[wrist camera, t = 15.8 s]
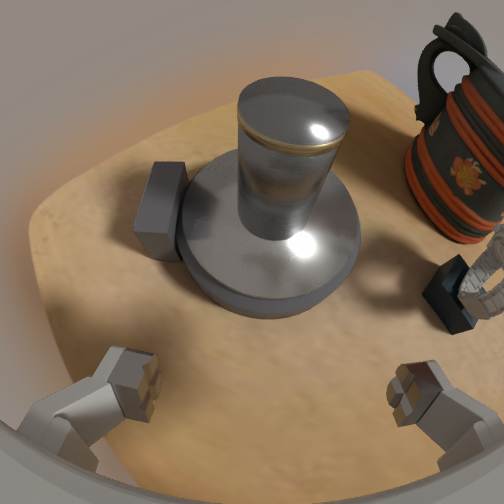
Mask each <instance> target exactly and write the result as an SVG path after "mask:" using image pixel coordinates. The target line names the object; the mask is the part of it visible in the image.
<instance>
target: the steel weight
mask: <svg viewBox="0 0 504 504" xmlns="http://www.w3.org/2000/svg"><path fill="white" fill-rule="evenodd" d="M237 119H238V192H237V210H238V216H239V219H240V221H241V223H242V224H243V226H244V227H245V228H246V229H247V230H248V231H249V232H250V233H252V234H253V235H255V236H257V237H259V238H261V239H265V240H269V241H282V240H287V239H290V238H292V237H294V236H296V235H297V234H299V233H300V232H301V231H302V230H303V228H304V227H305V225H306V223H307V221H308V219H309V216H310V214H311V212H312V210H313V207H314V205H315V203H316V201H317V198H318V196H319V194H320V192H321V189H322V187H323V185H324V182H325V180H326V178H327V175H328V173H329V171H330V168H331V166H332V164H333V161H334V159H335V156H336V154H337V152H338V149H339V147H340V144H341V143H342V142H343V140H344V137H345V135H346V133H347V130H348V126H349V121H350V116H349V112H348V109H347V107H346V106H345V104H344V103H343V102H342V100H341V99H340V98H339V97H338V96H336V95H335V94H334V93H333V92H331V91H330V90H328V89H326V88H324V87H323V86H320V85H318V84H316V83H313V82H311V81H307V80H304V79H299V78H293V77H270V78H265V79H261V80H257V81H255V82H253V83H251V84H249V85H248V86H247V87H245V88H244V90H243V91H242V92H241V94H240V97H239V101H238V106H237Z"/></svg>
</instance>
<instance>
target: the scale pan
mask: <svg viewBox="0 0 504 504" xmlns="http://www.w3.org/2000/svg"><path fill="white" fill-rule="evenodd" d="M237 192H238V149H235V150H232V151H229V152H227V153H225V154H223V155H221V156H219V157H217V158H216V159H214V160H213V161H211V162H210V163H208V164H207V165H206V166H205V167H204V168H203V169H202V170H201V171H200V172H199V173H198V174H197V175H196V177H195V178H194V180H193V181H192V183H191V184H190V186H189V188H188V191H187V193H186V196H185V199H184V203H183V210H182V224H183V230H184V234H185V237H186V240H187V243H188V246H189V248H190V250H191V252H192V254H193V256H194V258H195V259H196V261H197V262H198V264H199V265H200V266H201V268H202V269H203V270H204V271H205V272H206V273H207V274H208V275H209V276H210V277H211V278H213V279H214V280H215V281H216V282H218V283H219V284H221V285H222V286H224V287H226V288H227V289H229V290H231V291H233V292H236V293H238V294H241V295H243V296H247V297H251V298H254V299H261V300H287V299H294V298H297V297H301V296H304V295H307V294H309V293H311V292H314V291H316V290H318V289H319V288H321V287H322V286H324V285H326V284H327V283H328V282H329V281H330V280H331V279H333V278H334V277H335V276H336V275H337V274H338V273H339V272H340V270H341V269H342V268H343V267H344V266H345V264H346V263H347V261H348V259H349V258H350V256H351V254H352V251H353V249H354V246H355V242H356V238H357V228H358V226H357V215H356V210H355V206H354V204H353V201H352V198H351V196H350V194H349V192H348V190H347V189H346V187H345V186H344V184H343V183H342V181H341V180H340V179H339V178H338V177H337V176H336V174H335V173H333V172H332V171H331V170H330V171H329V173H328V175H327V178H326V180H325V182H324V185H323V187H322V189H321V192H320V194H319V196H318V198H317V201H316V203H315V205H314V207H313V210H312V212H311V214H310V216H309V219H308V221H307V223H306V225H305V227H304V228H303V230H302V231H301V232H300V233H299V234H297V235H296V236H294V237H292V238H290V239H287V240H282V241H269V240H265V239H261V238H259V237H257V236H255V235H253V234H252V233H250V232H249V231H248V230H247V229H246V228H245V227H244V226H243V224H242V223H241V221H240V219H239V216H238V210H237Z"/></svg>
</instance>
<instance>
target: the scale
mask: <svg viewBox="0 0 504 504" xmlns="http://www.w3.org/2000/svg"><path fill="white" fill-rule="evenodd" d="M200 171H201V170H200ZM200 171H199V172H200ZM199 172H198V173H199ZM198 173H197V174H198ZM197 174H196V175H197ZM196 175H195V176H194V177H193V179H192V180H191V181H190V182H189V180H188V176H187V171H186V167H185V162H154V165H153V167H152V169H151V171H150V174H149V177H148V180H147V183H146V186H145V189H144V193H143V196H142V199H141V202H140V206H139V209H138V212H137V216H136V219H135V223H134V227H133V228H134V229H133V232H134V233H135V235H136V236H137V238H138V239H139V240H140V242H141V243H142V245H143V246H144V247H145V249H146V250H147V252H148V253H149V254H150V256H151V257H152V258H153V259H154V260H165V261H176V262H181V260H182V257H183V259H184V261H185V264H186V266H187V268H188V270H189V272H190V274H191V275H192V277H193V279H194V281H195V282H196V283H197V285H198V286H199V288H200V289H201V290H202V291H203V292H204V293H205V294H206V295H207V296H208V297H209V298H211V299H212V300H213V301H214V302H216V303H217V304H219V305H220V306H222V307H224V308H225V309H227V310H229V311H232V312H234V313H236V314H239V315H242V316H246V317H250V318H256V319H281V318H287V317H291V316H294V315H298V314H300V313H303V312H305V311H307V310H309V309H311V308H312V307H314V306H316V305H317V304H319V303H320V302H321V301H322V300H324V299H325V298H326V297H327V296H328V295H330V294H331V293H332V292H333V291H334V290H335V289H337V288H338V287H339V286H340V285H341V284H342V282H343V281H344V280H345V279H346V278H347V276H348V275H349V273H350V271H351V270H352V268H353V266H354V264H355V261H356V259H357V256H358V252H359V248H360V239H361V231H360V222H359V217H358V213H357V210H356V207H355V210H356V215H357V226H358V228H357V238H356V242H355V246H354V249H353V251H352V254H351V256H350V258H349V259H348V261H347V263H346V264H345V266H344V267H343V268H342V269H341V270H340V272H339V273H338V274H337V275H336V276H335V277H334V278H333V279H331V280H330V281H329V282H328V283H327V284H326V285H324V286H322V287H321V288H319V289H318V290H316V291H314V292H311V293H309V294H307V295H304V296H301V297H297V298H294V299H287V300H261V299H254V298H251V297H247V296H243V295H241V294H238V293H236V292H233V291H231V290H229V289H227V288H226V287H224V286H222V285H221V284H219V283H218V282H216V281H215V280H214V279H213V278H211V277H210V276H209V275H208V274H207V273H206V272H205V271H204V270H203V269H202V268H201V266H200V265H199V264H198V262H197V261H196V259H195V258H194V256H193V254H192V252H191V250H190V248H189V246H188V243H187V240H186V237H185V234H184V230H183V224H182V210H183V203H184V199H185V196H186V193H187V191H188V188H189V186H190V184H191V183H192V181H193V180H194V178H195V177H196ZM353 204H354V203H353ZM354 206H355V205H354Z"/></svg>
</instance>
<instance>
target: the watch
mask: <svg viewBox="0 0 504 504" xmlns="http://www.w3.org/2000/svg"><path fill="white" fill-rule="evenodd" d="M493 230H494V231H495V234H494V235H493V237H492V239H491V240H490V242H489V243H488V244H487V247H488V248H487V249H486V250H485V252H483V253H482V254H481V255H480V256H479V258H478V259H477V260H476V261H475V262H474V263H473V265H472V266H471V267H470V268H469V266H468V265H467V264H466V262H465V261H464V260H463V258H462V257H461V256H460V254H458V255H457V256H455V257H454V258H452V259H451V260H449V261H448V262H446V263H444V264H443V265H441V266H440V268H439V269H438V271H437V272H436V274H435V275H434V277H433V278H432V280H431V281H430V283H429V284H428V286H427V287H426V289H425V290H424V291H423V293H422V296H423V297H424V298H425V299H426V301H427V302H428V303H429V304H430V306H431V307H432V308H433V310H434V311H435V312H436V314H437V315H438V316H439V318H440V319H441V320H442V322H443V323H444V324H445V326H446V327H447V329H448V330H449V331H450V333H451V334H452V335H454V334H457V333H461V332H464V331H468V330H471V329H474V327H475V325H476V323H477V321H478V319H484V320H487V319H491V317H494V316H496V315H499V314H501V313H503V311H504V297H503V296H504V278H503V280H502V281H501V284H500V283H499V284H498V285H497V286H495V287H494V288H493V289H492V291H491V290H490V291H488V292H487V293H486V291H485V290H484V288H483V287H482V286H483V285H484V283H485V282H486V281H487V280H488V279H489V278H490V276H492V275H493V274H494V273H495V272H496V271H497V270H498V269H500V268H501V267H502V266H503V267H502V270H504V224H501V225H500V224H499V223H497V224H496V225H495V226H494V227H493ZM486 254H487V255H486ZM485 258H486V259H485ZM479 260H480V261H479ZM487 261H488V262H489V263H488V262H487ZM489 264H490V265H491V266H490V265H489ZM480 267H481V268H480ZM491 267H492V268H491ZM496 269H497V270H496ZM482 270H483V271H482ZM484 273H485V274H484ZM488 273H489V274H488ZM489 275H490V276H489ZM502 286H503V287H502ZM500 291H501V292H500Z"/></svg>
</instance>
